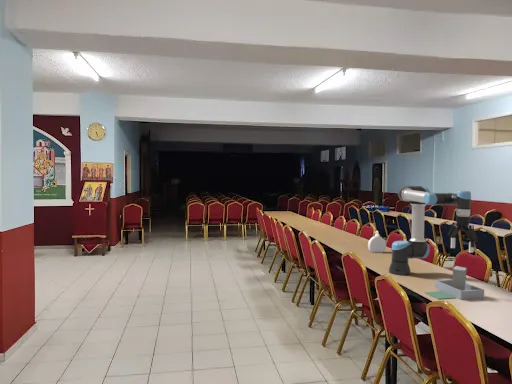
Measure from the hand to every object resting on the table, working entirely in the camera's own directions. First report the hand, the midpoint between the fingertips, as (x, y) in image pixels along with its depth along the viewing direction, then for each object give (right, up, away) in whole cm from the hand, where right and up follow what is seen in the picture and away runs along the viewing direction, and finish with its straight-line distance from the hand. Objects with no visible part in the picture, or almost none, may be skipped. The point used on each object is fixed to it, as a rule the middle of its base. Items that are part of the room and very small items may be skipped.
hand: (461, 250), depth 224 cm
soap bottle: (-13, -21, +120) cm, 123 cm away
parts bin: (-1, -27, +1) cm, 27 cm away
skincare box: (-1, -27, +1) cm, 27 cm away
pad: (-16, -27, -4) cm, 31 cm away
